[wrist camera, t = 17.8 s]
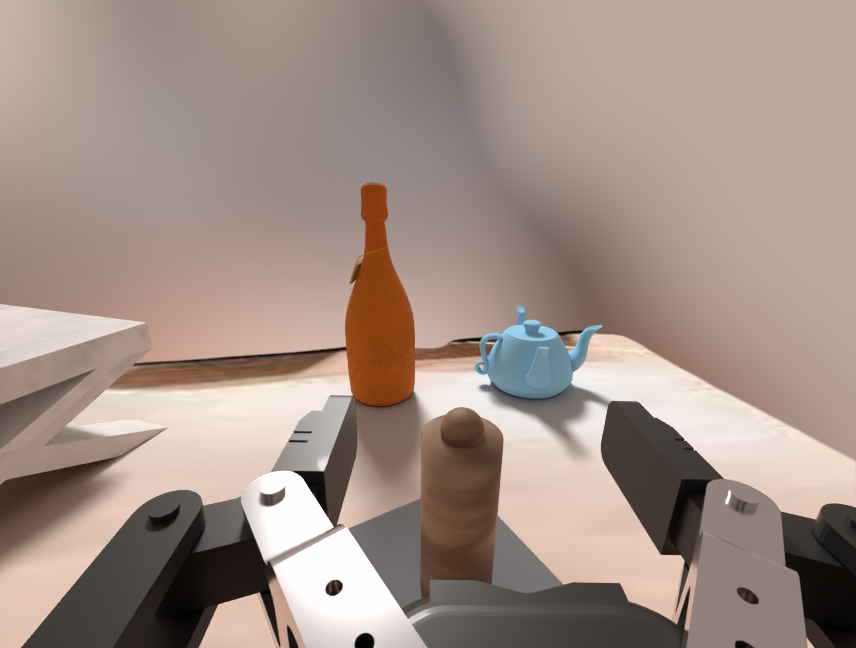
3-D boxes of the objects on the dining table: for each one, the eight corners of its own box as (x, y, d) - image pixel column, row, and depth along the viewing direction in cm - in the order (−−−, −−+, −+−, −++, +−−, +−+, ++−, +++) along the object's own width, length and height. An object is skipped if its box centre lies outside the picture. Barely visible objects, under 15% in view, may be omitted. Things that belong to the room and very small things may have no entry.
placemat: (435, 819, 19) (435, 807, 19) (328, 546, 34) (327, 537, 34) (621, 659, 26) (624, 648, 25) (464, 488, 41) (464, 480, 40)
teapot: (461, 381, 64) (463, 320, 61) (519, 356, 73) (522, 302, 70) (540, 418, 53) (546, 347, 50) (595, 383, 63) (603, 321, 59)
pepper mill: (444, 636, 26) (451, 445, 21) (408, 573, 30) (406, 402, 26) (505, 598, 29) (523, 419, 24) (464, 545, 33) (472, 384, 28)
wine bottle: (387, 373, 67) (379, 183, 57) (429, 393, 60) (427, 182, 51) (337, 393, 60) (319, 183, 51) (377, 417, 54) (364, 181, 44)
